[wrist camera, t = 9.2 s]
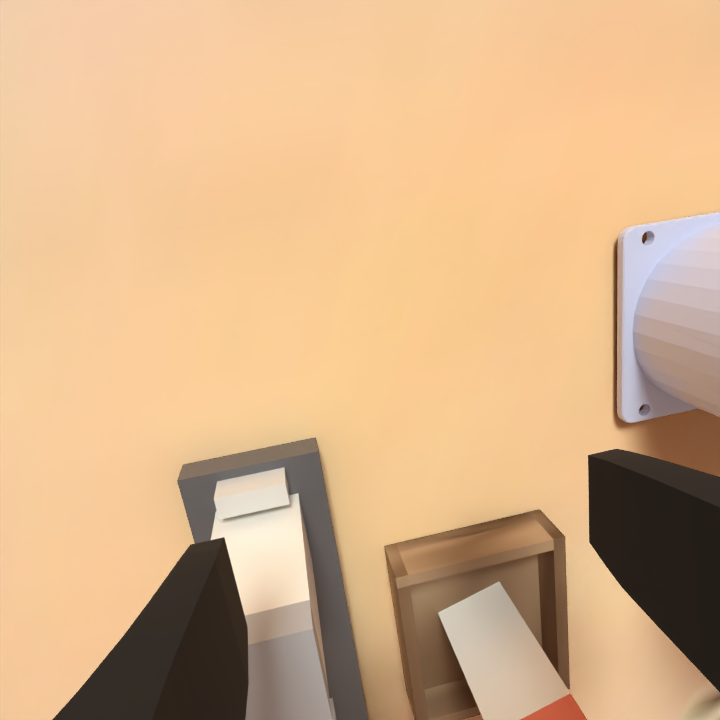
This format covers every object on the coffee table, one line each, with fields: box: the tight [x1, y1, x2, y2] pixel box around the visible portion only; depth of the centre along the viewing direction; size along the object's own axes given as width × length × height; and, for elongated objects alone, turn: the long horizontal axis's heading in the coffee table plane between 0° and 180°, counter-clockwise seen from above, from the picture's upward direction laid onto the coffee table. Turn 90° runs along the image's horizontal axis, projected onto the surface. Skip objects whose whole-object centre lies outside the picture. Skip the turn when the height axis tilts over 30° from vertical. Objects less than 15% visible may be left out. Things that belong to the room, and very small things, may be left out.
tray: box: [384, 510, 570, 720], centre depth 22 cm, size 7×8×2 cm
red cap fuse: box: [438, 582, 587, 720], centre depth 19 cm, size 3×3×6 cm
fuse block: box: [177, 438, 368, 720], centre depth 21 cm, size 5×19×2 cm, turn 9°
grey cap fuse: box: [211, 493, 332, 720], centre depth 16 cm, size 3×3×6 cm
